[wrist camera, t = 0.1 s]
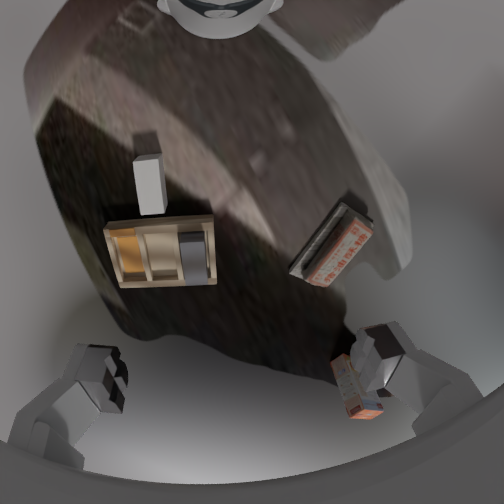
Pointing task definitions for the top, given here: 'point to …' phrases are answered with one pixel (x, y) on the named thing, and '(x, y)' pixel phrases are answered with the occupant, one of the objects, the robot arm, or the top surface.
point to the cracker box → (355, 390)
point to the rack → (163, 251)
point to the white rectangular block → (150, 183)
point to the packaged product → (332, 246)
